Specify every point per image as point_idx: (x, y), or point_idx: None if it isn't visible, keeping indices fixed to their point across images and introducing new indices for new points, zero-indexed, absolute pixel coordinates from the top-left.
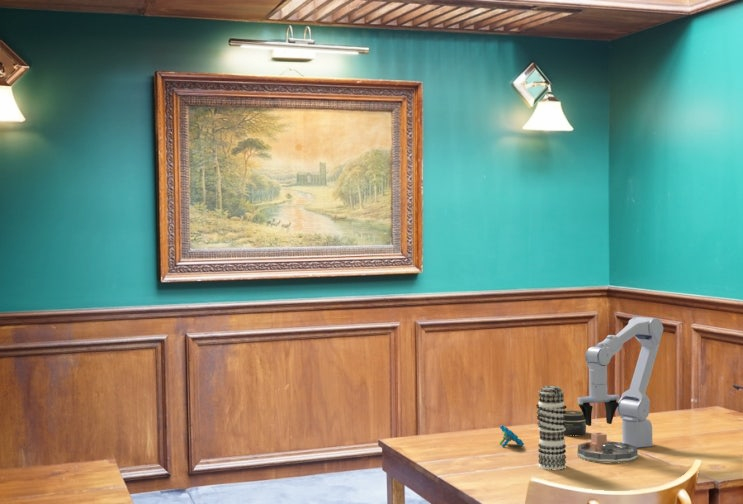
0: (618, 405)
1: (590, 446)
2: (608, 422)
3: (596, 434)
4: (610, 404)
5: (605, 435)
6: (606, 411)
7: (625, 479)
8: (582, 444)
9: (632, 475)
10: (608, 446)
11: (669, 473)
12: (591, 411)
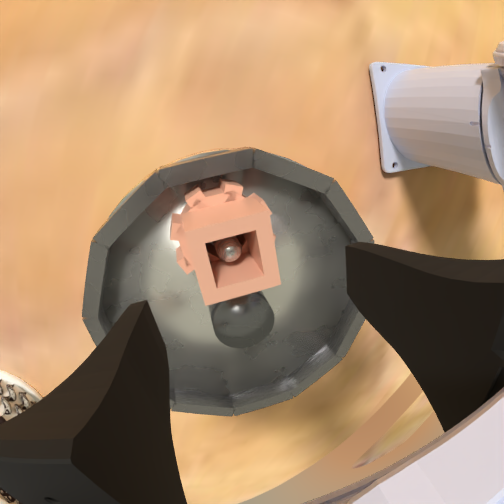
0: None
1: (172, 218)
2: (351, 276)
3: (211, 279)
4: (461, 410)
5: (270, 284)
6: (417, 279)
7: (201, 488)
8: (120, 226)
9: (229, 471)
10: (240, 346)
11: (322, 449)
12: (175, 481)
